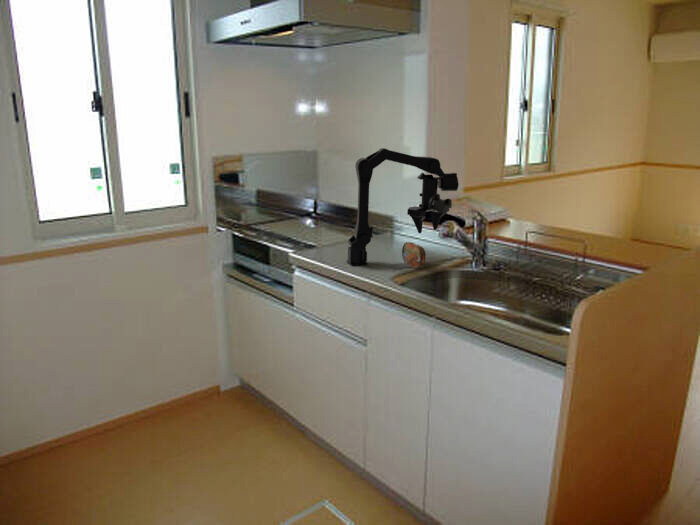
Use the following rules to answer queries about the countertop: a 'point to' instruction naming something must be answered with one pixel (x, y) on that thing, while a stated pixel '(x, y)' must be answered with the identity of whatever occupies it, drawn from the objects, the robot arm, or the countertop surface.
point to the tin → (413, 255)
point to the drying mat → (400, 265)
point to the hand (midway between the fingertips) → (427, 231)
